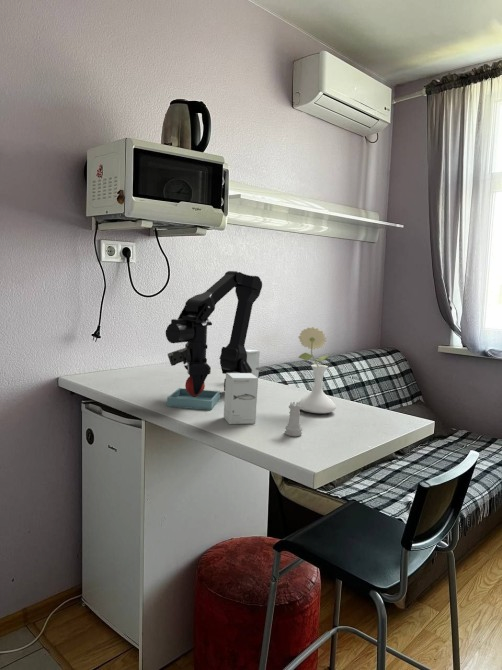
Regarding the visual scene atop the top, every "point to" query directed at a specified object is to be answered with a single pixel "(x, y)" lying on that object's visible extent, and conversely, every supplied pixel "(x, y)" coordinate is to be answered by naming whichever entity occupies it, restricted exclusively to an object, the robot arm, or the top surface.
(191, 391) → the onion
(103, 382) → the top surface
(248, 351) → the skincare box
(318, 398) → the flower in vase
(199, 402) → the tray
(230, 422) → the supplement box
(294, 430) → the rook chess piece
